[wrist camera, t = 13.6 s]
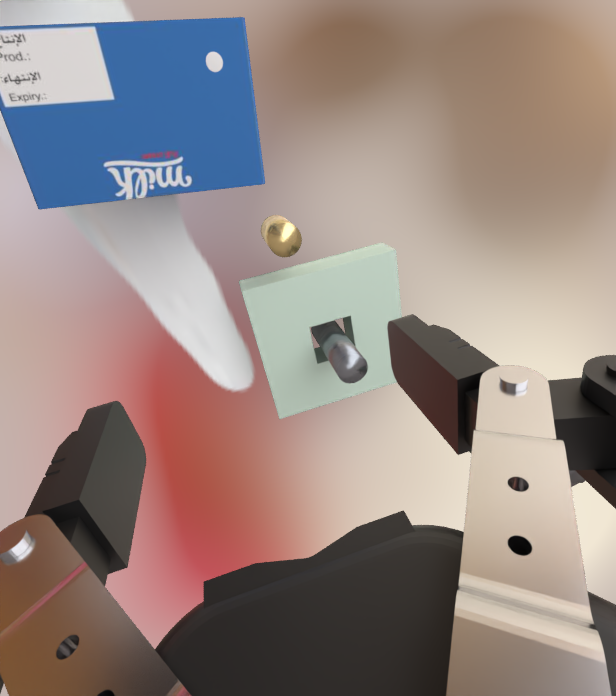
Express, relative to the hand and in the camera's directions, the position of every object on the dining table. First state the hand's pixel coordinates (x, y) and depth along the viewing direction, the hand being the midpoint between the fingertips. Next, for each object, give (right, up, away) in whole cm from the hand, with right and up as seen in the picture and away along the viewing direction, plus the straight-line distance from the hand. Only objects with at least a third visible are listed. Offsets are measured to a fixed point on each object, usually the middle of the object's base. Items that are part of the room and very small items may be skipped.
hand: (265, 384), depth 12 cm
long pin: (+3, +3, +34) cm, 34 cm away
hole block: (+3, +3, +34) cm, 34 cm away
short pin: (-2, +13, +28) cm, 31 cm away
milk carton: (-11, +20, +22) cm, 31 cm away
